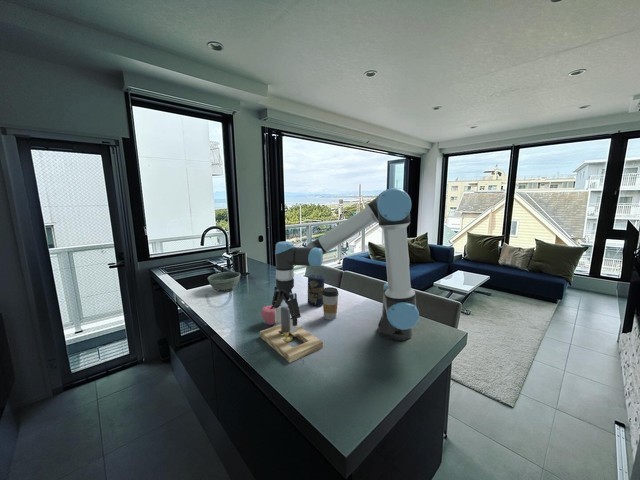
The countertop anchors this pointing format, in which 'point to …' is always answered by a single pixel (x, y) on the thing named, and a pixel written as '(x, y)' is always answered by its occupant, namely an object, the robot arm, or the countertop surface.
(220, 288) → the bowl
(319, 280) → the canister
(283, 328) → the peg
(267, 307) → the apple
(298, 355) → the keyhole board
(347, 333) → the countertop surface
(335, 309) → the coffee cup
